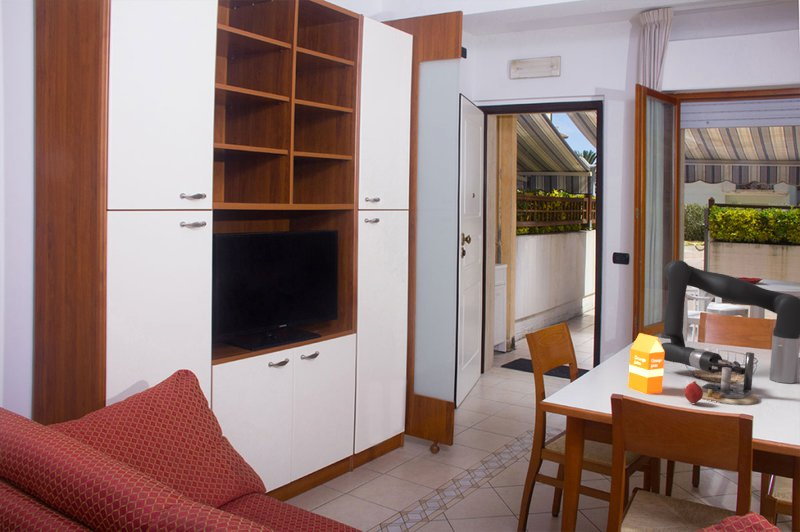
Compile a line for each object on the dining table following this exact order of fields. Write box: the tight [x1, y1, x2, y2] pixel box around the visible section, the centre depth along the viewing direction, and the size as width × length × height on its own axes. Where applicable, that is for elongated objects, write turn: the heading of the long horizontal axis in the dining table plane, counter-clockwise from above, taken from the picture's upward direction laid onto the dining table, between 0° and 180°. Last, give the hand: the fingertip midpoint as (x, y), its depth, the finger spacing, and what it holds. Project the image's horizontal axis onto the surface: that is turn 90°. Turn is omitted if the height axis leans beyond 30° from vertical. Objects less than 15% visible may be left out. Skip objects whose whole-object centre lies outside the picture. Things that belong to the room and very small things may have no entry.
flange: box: [701, 351, 755, 399], centre depth 250 cm, size 15×18×14 cm
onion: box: [683, 380, 703, 404], centre depth 241 cm, size 6×6×8 cm
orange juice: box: [627, 332, 665, 395], centre depth 256 cm, size 8×9×20 cm
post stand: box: [699, 367, 759, 406], centre depth 251 cm, size 21×21×10 cm
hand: (745, 371), depth 252 cm, fingers closed
